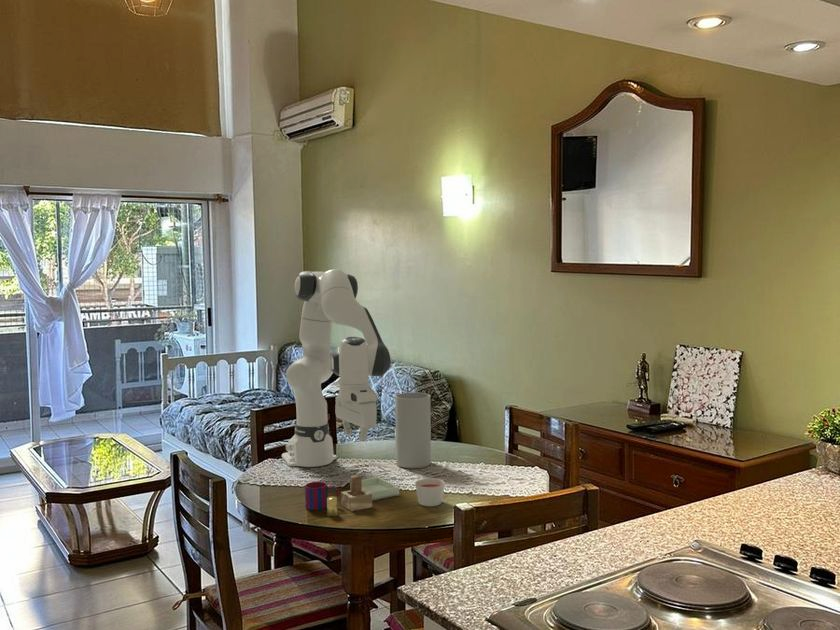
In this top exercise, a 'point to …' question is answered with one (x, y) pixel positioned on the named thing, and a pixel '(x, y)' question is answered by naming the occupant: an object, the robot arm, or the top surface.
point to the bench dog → (332, 506)
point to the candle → (430, 491)
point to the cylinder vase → (413, 430)
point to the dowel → (356, 485)
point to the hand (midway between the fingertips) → (355, 437)
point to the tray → (379, 488)
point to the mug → (317, 495)
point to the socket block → (356, 500)
